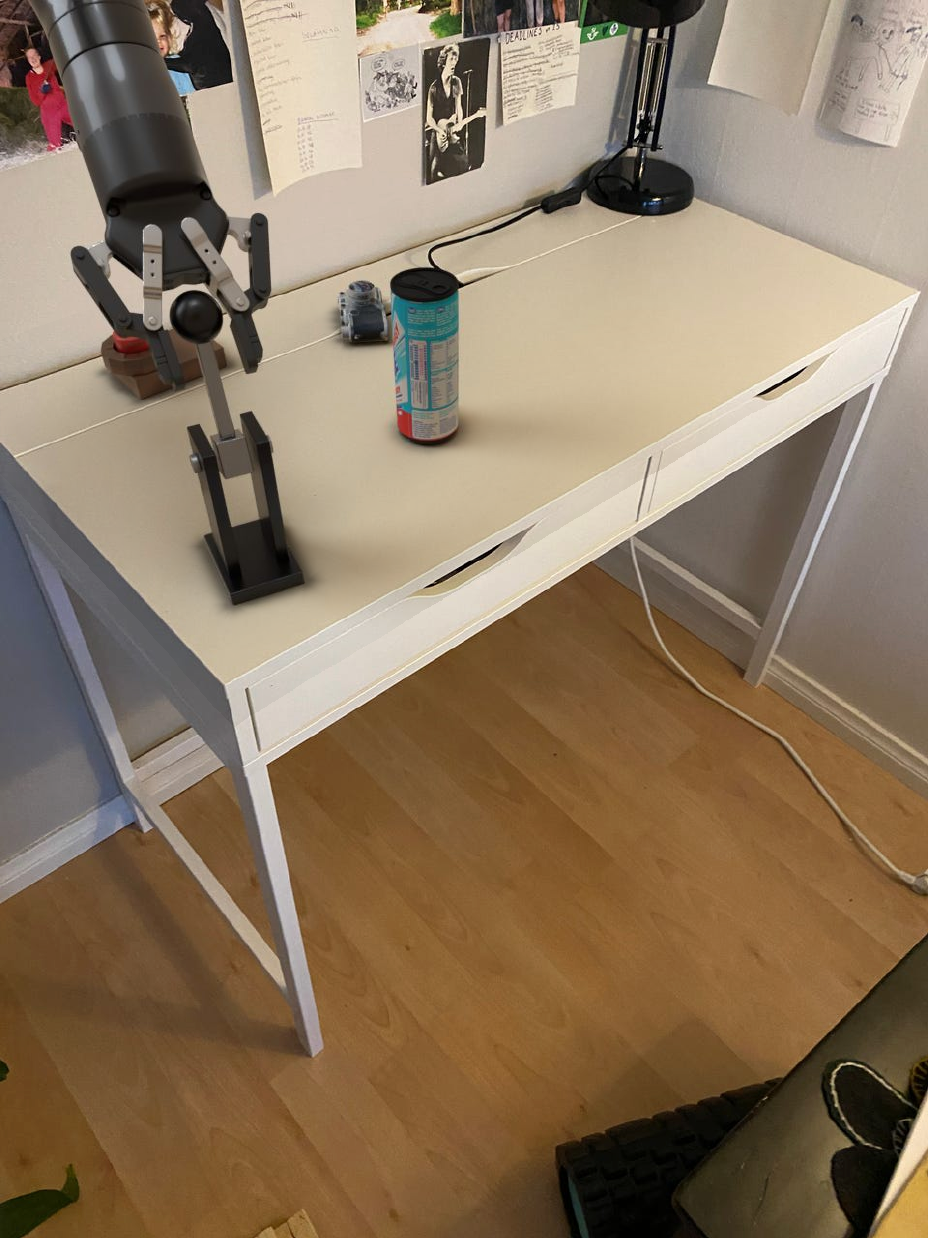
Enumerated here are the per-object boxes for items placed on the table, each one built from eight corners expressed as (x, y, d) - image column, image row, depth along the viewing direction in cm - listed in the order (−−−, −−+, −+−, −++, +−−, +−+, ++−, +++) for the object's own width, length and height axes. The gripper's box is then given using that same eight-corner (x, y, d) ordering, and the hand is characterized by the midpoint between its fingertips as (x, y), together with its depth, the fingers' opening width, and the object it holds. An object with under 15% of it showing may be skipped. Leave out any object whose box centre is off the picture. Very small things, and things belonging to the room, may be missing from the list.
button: (126, 359, 95) (122, 343, 93) (111, 346, 97) (106, 330, 95) (157, 348, 96) (153, 332, 95) (141, 335, 98) (137, 319, 97)
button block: (130, 403, 96) (120, 368, 93) (99, 375, 99) (88, 340, 97) (227, 366, 101) (220, 331, 98) (194, 340, 105) (186, 306, 102)
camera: (343, 348, 103) (339, 312, 100) (338, 304, 111) (335, 269, 108) (389, 345, 104) (387, 309, 101) (382, 301, 111) (379, 266, 108)
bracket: (205, 545, 80) (173, 415, 71) (274, 525, 82) (251, 396, 73) (232, 605, 75) (201, 473, 66) (304, 582, 77) (284, 451, 68)
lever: (159, 292, 66) (167, 299, 63) (210, 282, 67) (220, 288, 64) (208, 470, 73) (218, 484, 70) (253, 458, 74) (265, 471, 71)
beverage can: (429, 405, 96) (426, 260, 85) (471, 430, 93) (473, 282, 82) (385, 429, 93) (375, 281, 82) (426, 455, 90) (421, 305, 79)
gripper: (20, 125, 60) (111, 388, 61) (242, 93, 64) (323, 339, 65) (34, 182, 67) (115, 417, 68) (233, 150, 71) (306, 370, 72)
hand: (216, 377), depth 66 cm, fingers open, 4 cm apart
